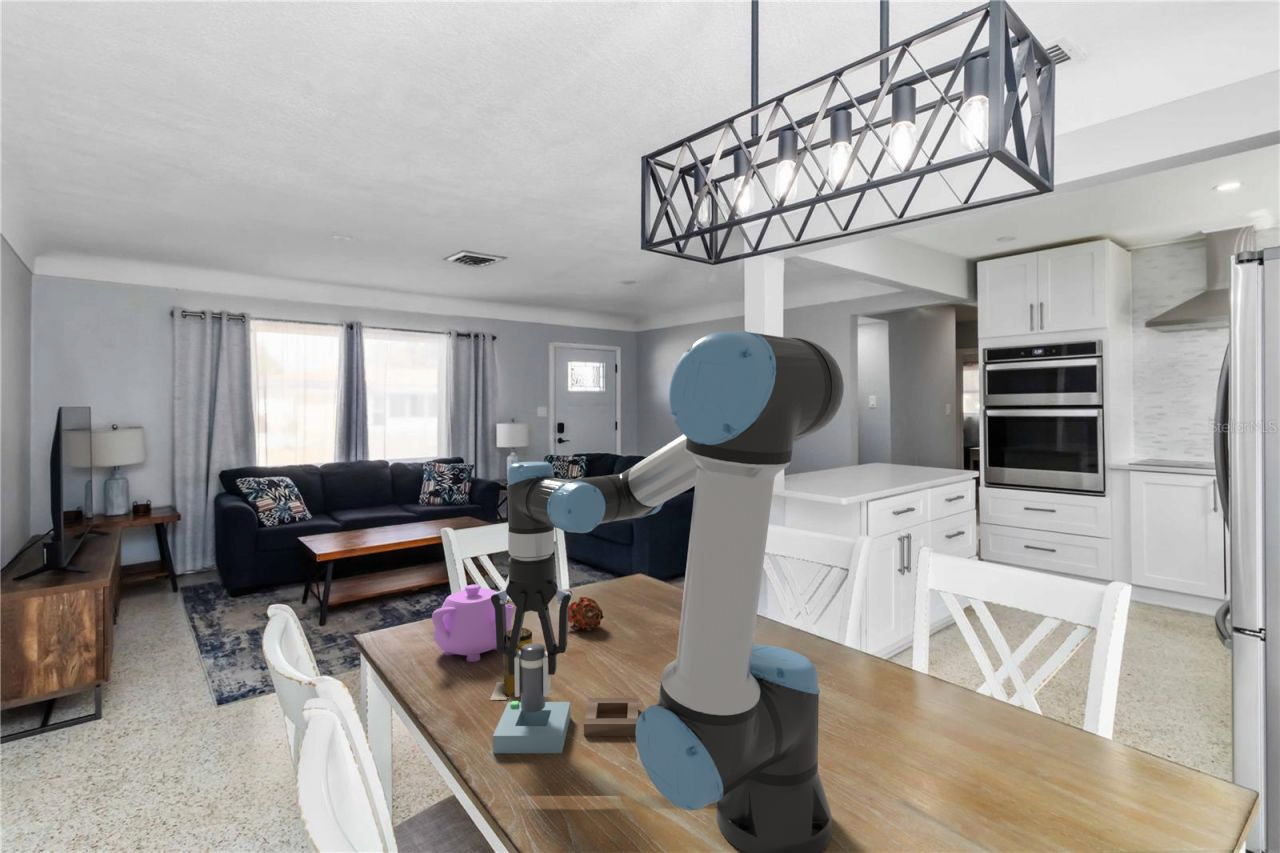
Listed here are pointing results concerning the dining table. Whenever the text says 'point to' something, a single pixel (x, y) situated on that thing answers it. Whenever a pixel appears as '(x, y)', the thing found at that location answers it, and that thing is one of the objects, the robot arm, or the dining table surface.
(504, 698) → the condiment
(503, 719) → the port
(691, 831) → the dining table surface
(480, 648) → the teapot
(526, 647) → the plug
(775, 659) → the robot arm
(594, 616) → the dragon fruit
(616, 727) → the wooden square frame
